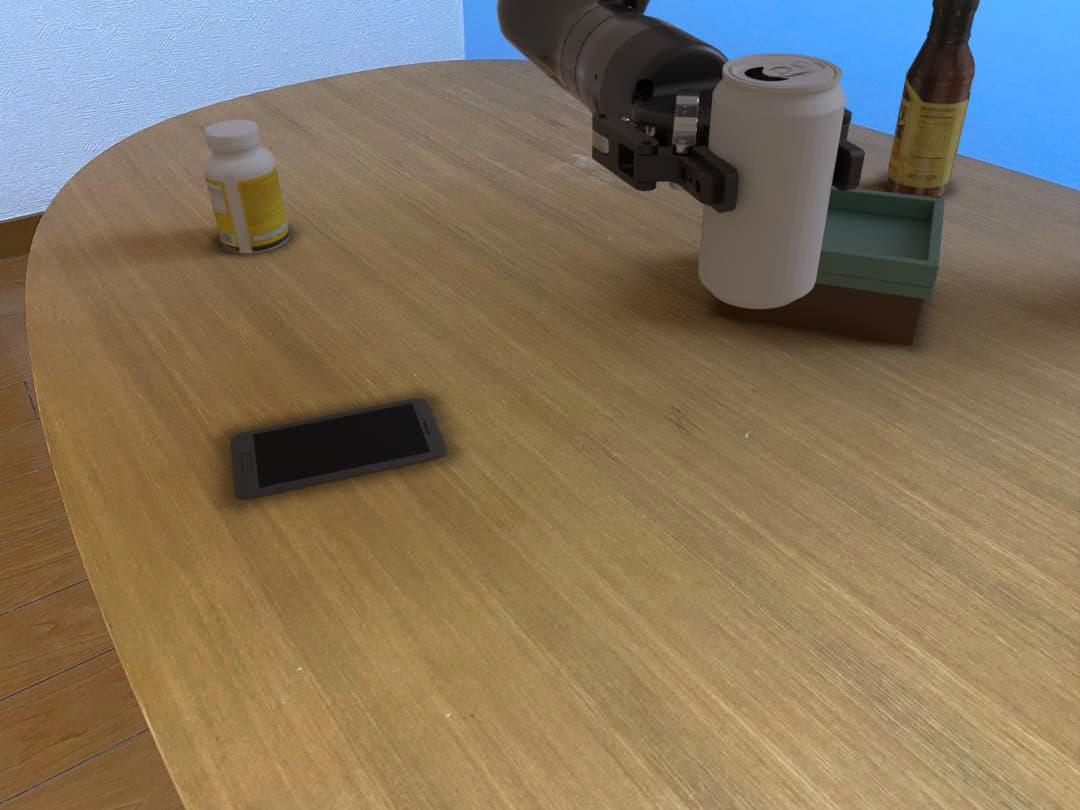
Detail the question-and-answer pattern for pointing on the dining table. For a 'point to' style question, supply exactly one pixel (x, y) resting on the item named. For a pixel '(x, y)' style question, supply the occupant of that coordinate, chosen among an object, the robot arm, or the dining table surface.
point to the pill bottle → (244, 188)
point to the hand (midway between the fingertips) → (794, 182)
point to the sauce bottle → (934, 103)
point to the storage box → (868, 268)
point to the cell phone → (334, 448)
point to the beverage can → (772, 177)
